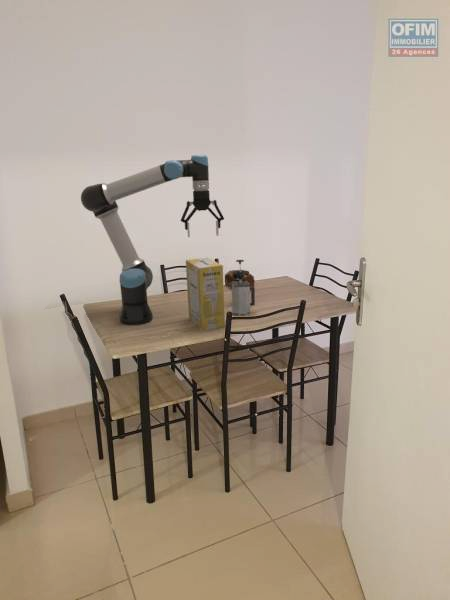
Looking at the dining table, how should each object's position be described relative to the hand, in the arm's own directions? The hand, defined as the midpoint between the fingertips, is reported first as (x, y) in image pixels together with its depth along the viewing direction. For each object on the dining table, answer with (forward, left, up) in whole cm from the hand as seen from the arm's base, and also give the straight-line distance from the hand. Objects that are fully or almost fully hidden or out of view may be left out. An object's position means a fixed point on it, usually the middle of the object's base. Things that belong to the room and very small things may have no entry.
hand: (203, 236), depth 221 cm
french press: (+18, +5, -37) cm, 41 cm away
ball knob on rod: (+16, -9, -30) cm, 35 cm away
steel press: (+17, -9, -37) cm, 42 cm away
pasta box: (-2, -19, -37) cm, 42 cm away
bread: (+22, +35, -37) cm, 56 cm away
